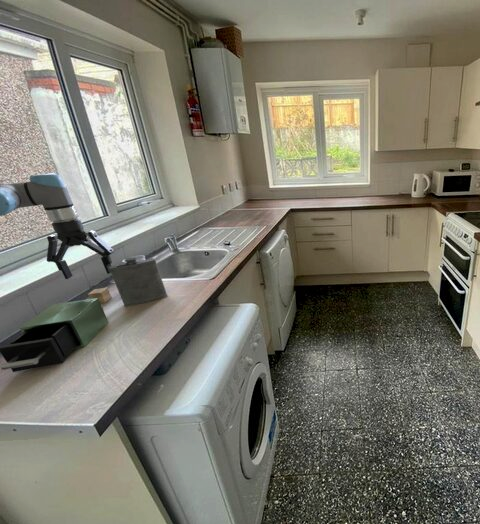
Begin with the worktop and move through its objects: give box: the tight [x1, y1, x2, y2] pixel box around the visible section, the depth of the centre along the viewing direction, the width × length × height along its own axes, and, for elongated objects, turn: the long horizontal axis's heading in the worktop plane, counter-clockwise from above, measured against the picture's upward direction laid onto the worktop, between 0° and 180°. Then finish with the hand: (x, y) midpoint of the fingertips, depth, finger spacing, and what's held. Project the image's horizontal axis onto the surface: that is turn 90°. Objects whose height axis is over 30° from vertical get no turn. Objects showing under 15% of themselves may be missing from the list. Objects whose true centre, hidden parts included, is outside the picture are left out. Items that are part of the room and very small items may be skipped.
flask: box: [109, 256, 168, 307], centre depth 108 cm, size 4×14×18 cm, turn 116°
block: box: [87, 287, 112, 304], centre depth 113 cm, size 4×4×4 cm
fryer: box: [19, 298, 109, 350], centre depth 89 cm, size 14×13×10 cm
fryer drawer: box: [0, 323, 80, 373], centre depth 80 cm, size 17×11×8 cm
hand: (90, 275), depth 108 cm, fingers open, 13 cm apart
